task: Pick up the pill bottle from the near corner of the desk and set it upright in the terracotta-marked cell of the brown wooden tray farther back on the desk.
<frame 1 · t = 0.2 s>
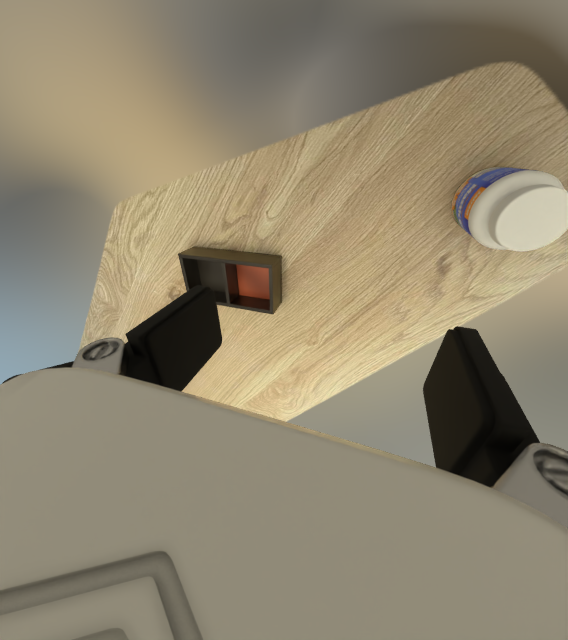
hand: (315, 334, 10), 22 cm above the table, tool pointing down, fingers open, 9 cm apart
brown wooden tray: (238, 274, 37), on the table
pill bottle: (483, 199, 24), on the table
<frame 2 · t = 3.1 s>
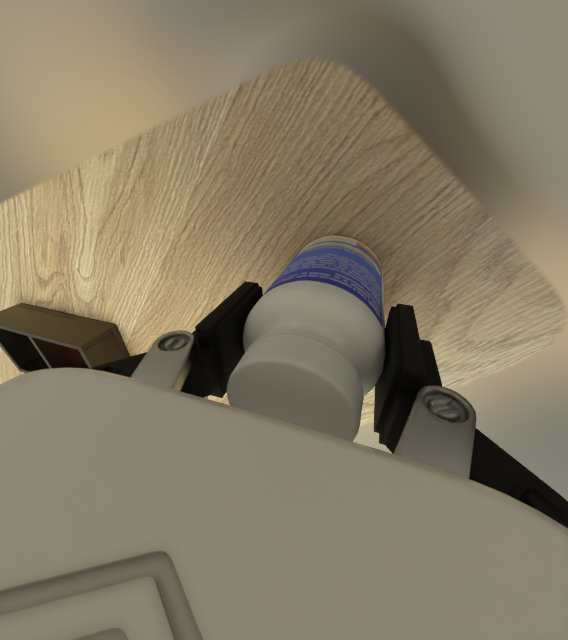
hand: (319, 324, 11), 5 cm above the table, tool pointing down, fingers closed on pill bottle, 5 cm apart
brown wooden tray: (80, 339, 28), on the table
pill bottle: (336, 279, 15), on the table, touching gripper
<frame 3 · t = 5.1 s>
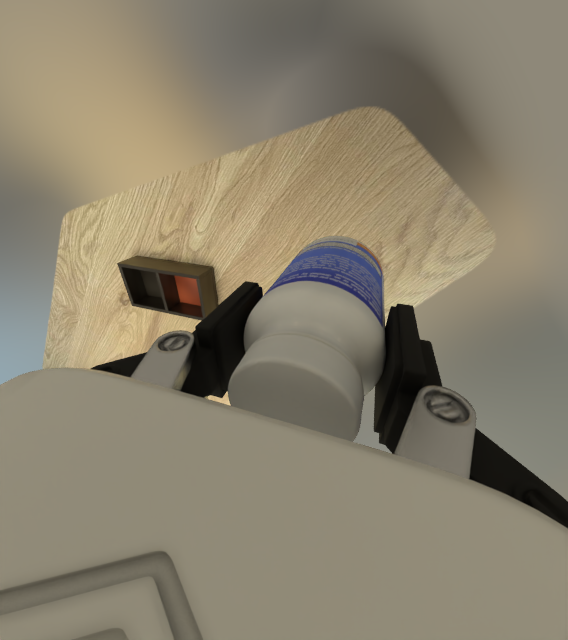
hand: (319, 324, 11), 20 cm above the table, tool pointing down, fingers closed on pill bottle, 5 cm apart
brown wooden tray: (178, 282, 39), on the table
pill bottle: (336, 279, 15), point 15 cm above the table, touching gripper
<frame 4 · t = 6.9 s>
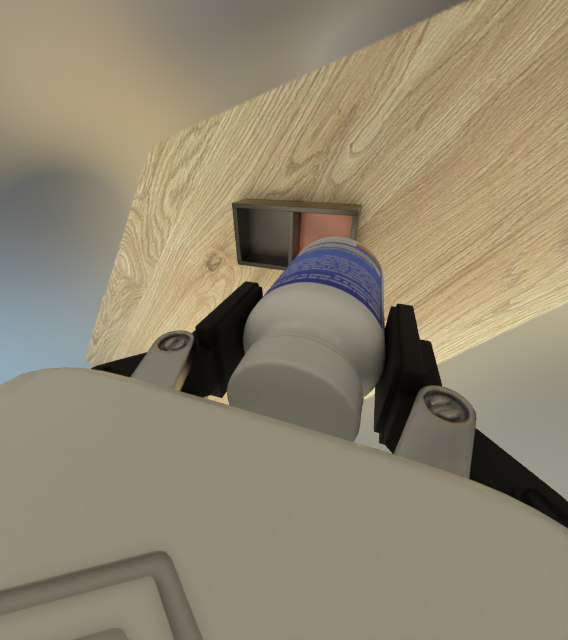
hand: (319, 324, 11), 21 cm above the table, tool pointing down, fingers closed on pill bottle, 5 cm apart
brown wooden tray: (299, 233, 30), on the table
pill bottle: (336, 280, 15), point 16 cm above the table, touching gripper
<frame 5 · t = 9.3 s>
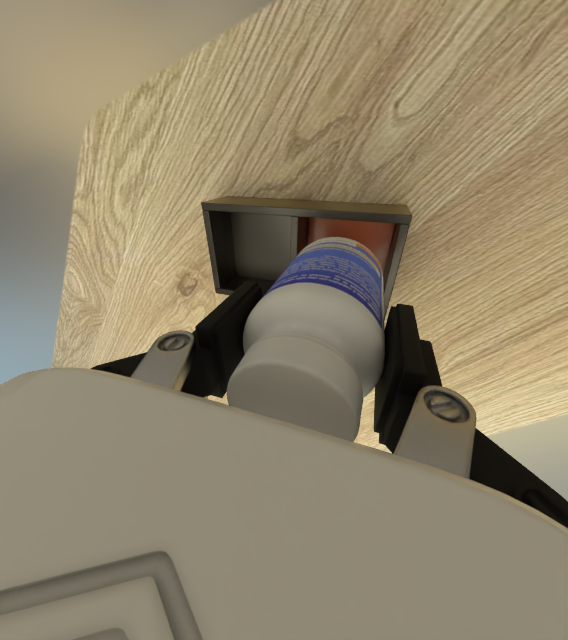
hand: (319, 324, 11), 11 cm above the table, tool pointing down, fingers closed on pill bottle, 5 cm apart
brown wooden tray: (305, 247, 20), on the table
pill bottle: (336, 280, 15), point 6 cm above the table, touching gripper
when the fingers open (6 cm above the table, at t = 10.9 s): pill bottle stays where it is, resting on brown wooden tray.
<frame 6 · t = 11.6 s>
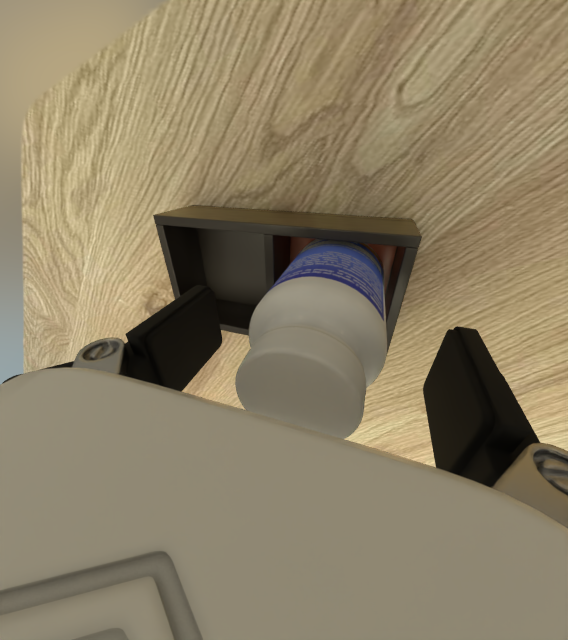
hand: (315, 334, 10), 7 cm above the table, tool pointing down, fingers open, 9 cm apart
brown wooden tray: (289, 267, 17), on the table
pill bottle: (337, 276, 15), point 1 cm above the table, touching brown wooden tray
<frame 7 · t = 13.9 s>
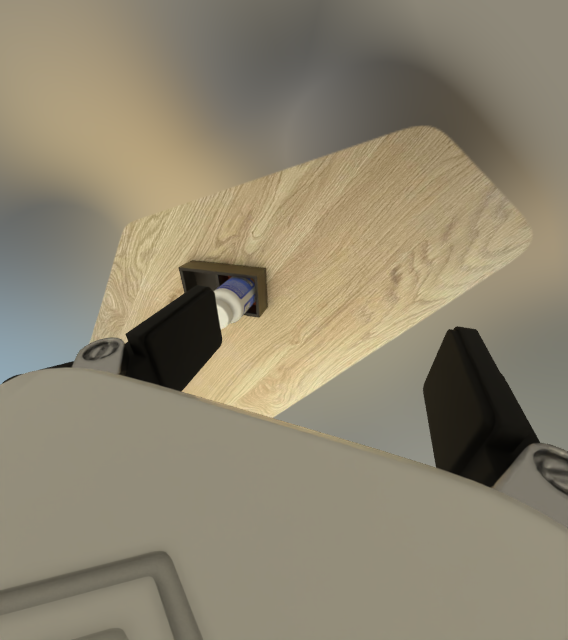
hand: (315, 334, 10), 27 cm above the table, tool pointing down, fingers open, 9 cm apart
brown wooden tray: (229, 283, 43), on the table
pill bottle: (246, 287, 42), point 1 cm above the table, touching brown wooden tray
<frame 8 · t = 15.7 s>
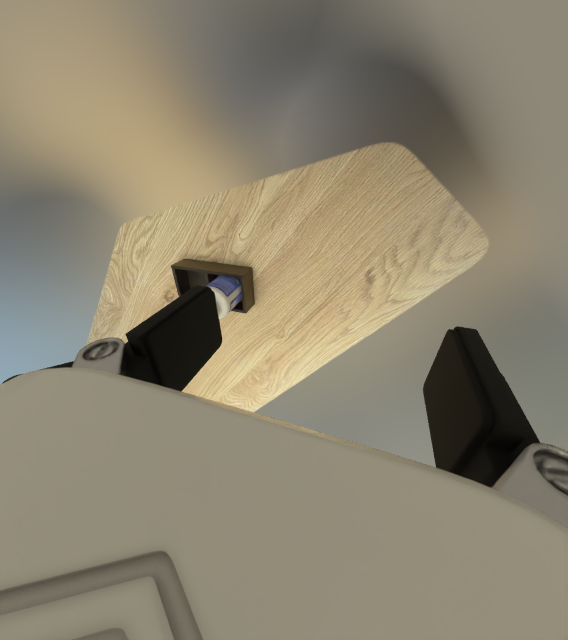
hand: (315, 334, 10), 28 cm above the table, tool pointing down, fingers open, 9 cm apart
brown wooden tray: (219, 281, 46), on the table
pill bottle: (234, 284, 45), point 1 cm above the table, touching brown wooden tray
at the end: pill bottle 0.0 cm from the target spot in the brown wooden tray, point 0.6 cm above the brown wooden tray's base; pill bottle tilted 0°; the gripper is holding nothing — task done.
